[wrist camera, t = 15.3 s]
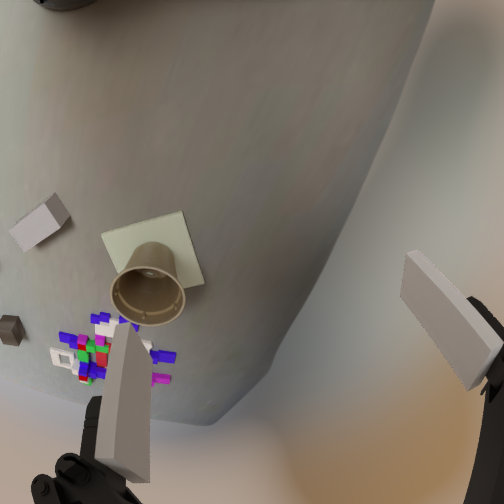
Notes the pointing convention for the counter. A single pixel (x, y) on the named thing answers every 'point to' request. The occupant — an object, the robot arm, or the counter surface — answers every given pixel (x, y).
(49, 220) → the grey block
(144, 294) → the flower pot
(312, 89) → the counter surface
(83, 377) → the building block set
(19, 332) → the dark block
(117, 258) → the coaster
